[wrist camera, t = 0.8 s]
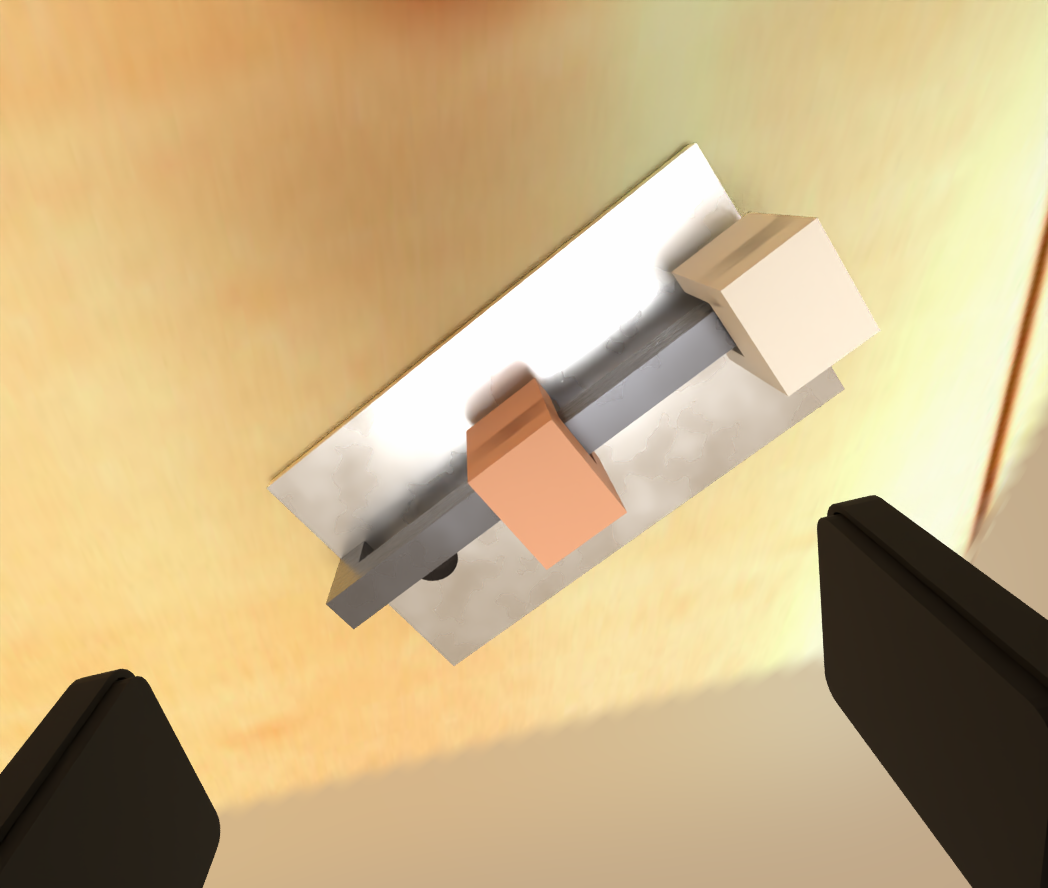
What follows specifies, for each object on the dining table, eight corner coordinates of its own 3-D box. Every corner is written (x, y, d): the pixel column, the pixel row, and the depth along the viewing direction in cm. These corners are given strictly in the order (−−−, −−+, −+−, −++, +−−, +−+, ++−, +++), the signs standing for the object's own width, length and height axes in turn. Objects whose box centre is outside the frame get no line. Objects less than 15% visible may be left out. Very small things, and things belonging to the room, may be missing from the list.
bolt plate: (688, 144, 29) (696, 142, 28) (834, 383, 34) (845, 389, 33) (271, 479, 33) (266, 488, 32) (454, 654, 38) (453, 666, 37)
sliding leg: (533, 372, 31) (551, 419, 25) (594, 450, 33) (627, 512, 26) (466, 424, 32) (467, 482, 25) (530, 498, 33) (546, 570, 27)
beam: (755, 241, 30) (797, 248, 26) (775, 273, 31) (818, 284, 27) (340, 558, 34) (325, 604, 30) (365, 581, 35) (353, 629, 31)
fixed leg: (738, 211, 30) (817, 217, 23) (792, 301, 31) (880, 330, 25) (663, 269, 30) (720, 291, 24) (720, 354, 32) (788, 396, 25)
